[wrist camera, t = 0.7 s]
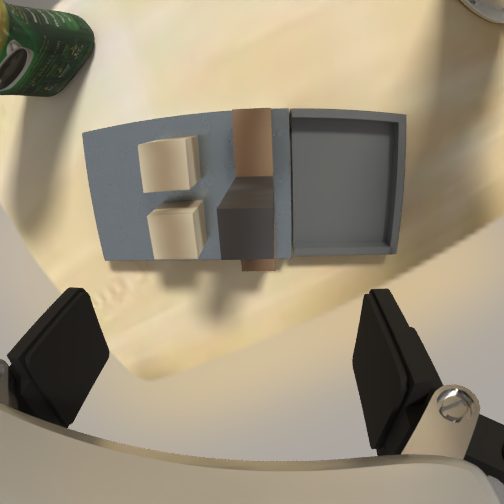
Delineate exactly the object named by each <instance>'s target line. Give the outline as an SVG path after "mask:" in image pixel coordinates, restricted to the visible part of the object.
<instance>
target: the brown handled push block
mask: <svg viewBox="0 0 504 504" xmlns="http://www.w3.org/2000/svg"><path fill="white" fill-rule="evenodd" d="M232 121H233V138H234V154H235V171H236V178H235V179H234V181H233V183H232V184H231V186H230V188H229V189H228V191H227V193H226V194H225V196H224V198H223V199H222V201H221V203H220V204H219V206H218V208H217V220H218V231H219V241H220V252H221V260H241V262H242V271H276V252H275V209H274V175H273V147H272V123H271V108H254V109H236V110H232Z"/></svg>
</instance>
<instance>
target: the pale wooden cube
mask: <svg viewBox="0 0 504 504" xmlns="http://www.w3.org/2000/svg"><path fill="white" fill-rule="evenodd" d="M147 219H148V225H149V231H150V237H151V243H152V248H153V254H154V259H198V258H199V256H200V254H201V252H202V250H203V248H204V246H205V244H206V242H207V235H206V226H205V216H204V206H203V200H202V201H183V202H167V203H162V204H160V205H159V206H158V207H157V208H156V209H155V210H153V211H152V212H151V213H150V214H149V215H148V216H147Z"/></svg>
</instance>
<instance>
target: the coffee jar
mask: <svg viewBox="0 0 504 504" xmlns="http://www.w3.org/2000/svg"><path fill="white" fill-rule="evenodd" d="M93 47H94V34H93V31H92V29H91V28H90V26H89V25H88V24H87V23H86V22H85V21H84V20H83V19H82V18H80V17H79V16H76V15H74V14H70V13H65V12H60V11H52V10H43V9H35V8H28V7H21V6H15V5H11V4H7V3H5V2H4V0H0V95H24V96H39V97H48V96H53V95H55V94H57V93H59V92H60V91H61V90H62V89H63V88H64V87H65V86H66V85H67V84H68V83H69V81H70V80H71V79H72V78H73V77H74V76H75V74H76V73H77V72H78V71H79V69H80V68H81V67H82V65H83V64H84V63H85V61H86V60H87V58H88V57H89V55H90V54H91V52H92V50H93Z"/></svg>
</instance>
